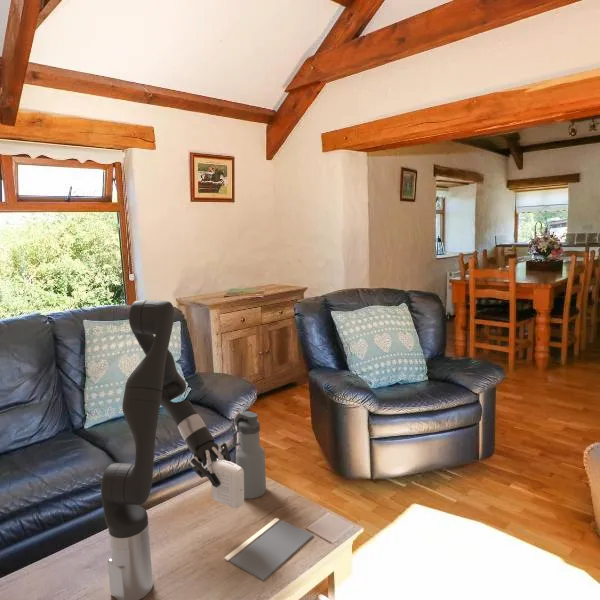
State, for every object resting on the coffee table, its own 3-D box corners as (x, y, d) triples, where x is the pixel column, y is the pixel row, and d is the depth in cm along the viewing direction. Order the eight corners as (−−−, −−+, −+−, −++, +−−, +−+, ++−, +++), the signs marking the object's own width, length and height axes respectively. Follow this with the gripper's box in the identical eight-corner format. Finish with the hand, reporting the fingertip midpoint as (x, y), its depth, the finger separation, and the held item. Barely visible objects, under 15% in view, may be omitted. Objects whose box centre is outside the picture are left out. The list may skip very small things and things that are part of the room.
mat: (263, 581, 122) (263, 579, 122) (224, 559, 131) (224, 557, 131) (313, 536, 140) (313, 534, 140) (275, 518, 148) (275, 517, 148)
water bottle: (230, 492, 163) (226, 414, 159) (251, 480, 171) (248, 405, 166) (251, 503, 157) (248, 422, 152) (271, 490, 164) (269, 412, 160)
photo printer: (246, 503, 140) (245, 463, 138) (237, 510, 136) (236, 469, 134) (219, 493, 145) (217, 455, 143) (209, 500, 141) (208, 461, 139)
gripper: (181, 435, 138) (212, 487, 132) (218, 419, 149) (248, 466, 144) (171, 447, 142) (200, 498, 136) (207, 431, 153) (235, 477, 148)
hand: (224, 481), depth 140 cm, fingers closed on photo printer, 4 cm apart
